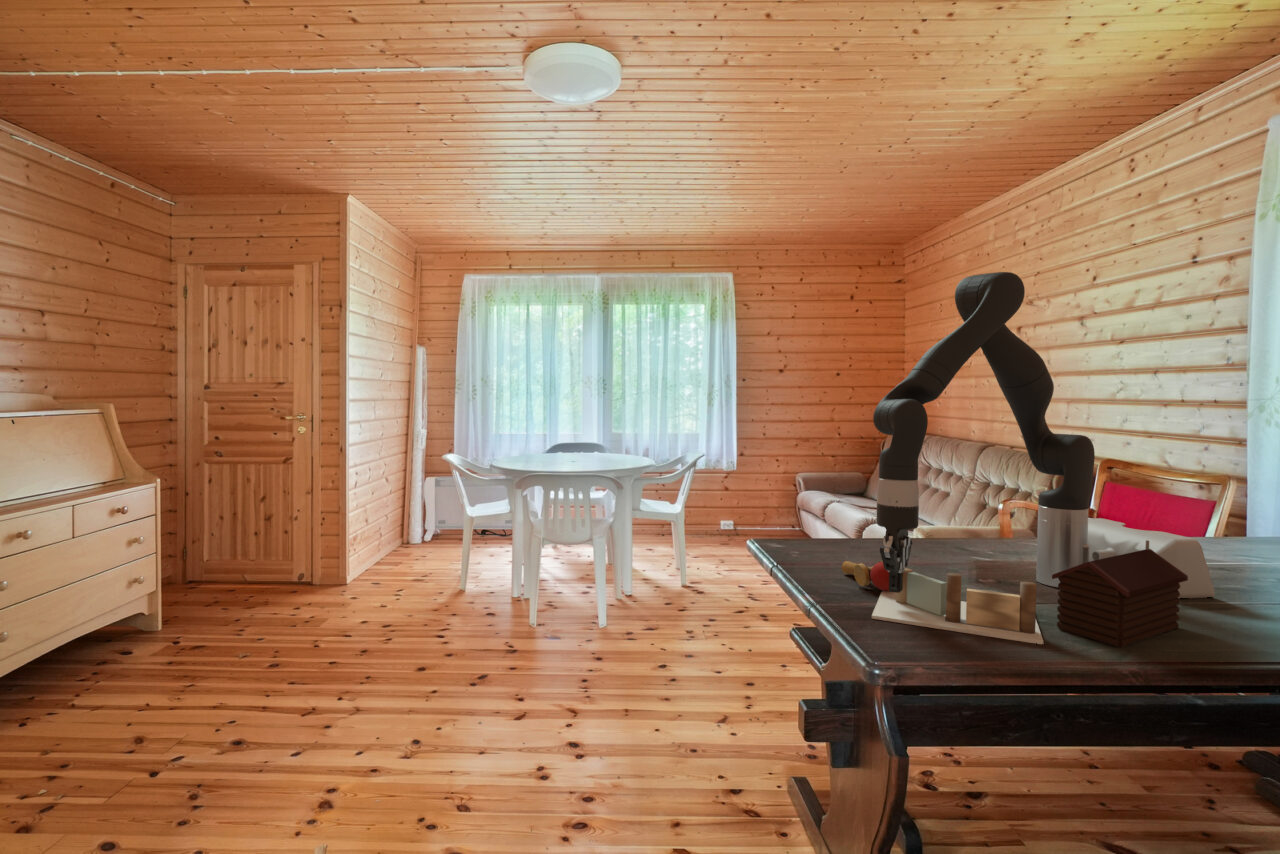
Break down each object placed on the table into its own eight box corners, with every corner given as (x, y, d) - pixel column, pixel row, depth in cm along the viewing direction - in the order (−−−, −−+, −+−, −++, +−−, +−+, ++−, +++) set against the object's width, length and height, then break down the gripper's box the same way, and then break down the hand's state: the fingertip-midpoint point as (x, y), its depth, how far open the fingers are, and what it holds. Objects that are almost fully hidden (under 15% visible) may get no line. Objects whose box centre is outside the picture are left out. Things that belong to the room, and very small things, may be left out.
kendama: (829, 580, 145) (875, 589, 127) (832, 552, 146) (878, 558, 128) (859, 585, 146) (908, 595, 129) (862, 558, 147) (911, 564, 130)
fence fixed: (1034, 633, 109) (1035, 582, 108) (1035, 638, 107) (1037, 586, 106) (945, 620, 115) (946, 572, 115) (945, 624, 113) (946, 575, 113)
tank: (1051, 569, 151) (1053, 518, 150) (1111, 567, 153) (1113, 516, 152) (1146, 602, 126) (1148, 541, 126) (1216, 599, 128) (1219, 539, 127)
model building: (1112, 610, 121) (1114, 534, 121) (1185, 630, 111) (1189, 546, 110) (1050, 628, 112) (1052, 545, 111) (1124, 651, 101) (1127, 560, 101)
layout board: (1032, 613, 119) (1032, 610, 119) (1043, 644, 104) (1043, 640, 104) (882, 593, 131) (882, 590, 131) (871, 618, 116) (871, 615, 116)
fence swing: (949, 613, 116) (950, 581, 116) (937, 616, 115) (937, 583, 115) (903, 596, 126) (903, 567, 126) (891, 598, 125) (891, 568, 125)
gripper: (907, 507, 113) (905, 602, 113) (927, 500, 123) (925, 587, 124) (866, 503, 118) (864, 594, 118) (888, 497, 128) (886, 581, 128)
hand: (895, 591), depth 121 cm, fingers closed
